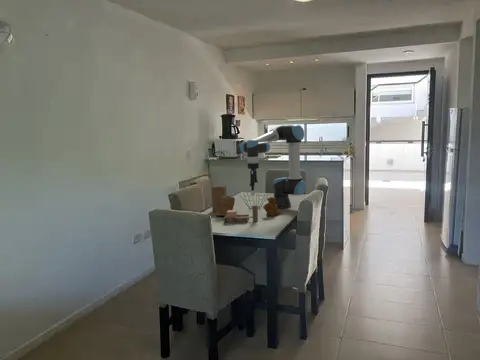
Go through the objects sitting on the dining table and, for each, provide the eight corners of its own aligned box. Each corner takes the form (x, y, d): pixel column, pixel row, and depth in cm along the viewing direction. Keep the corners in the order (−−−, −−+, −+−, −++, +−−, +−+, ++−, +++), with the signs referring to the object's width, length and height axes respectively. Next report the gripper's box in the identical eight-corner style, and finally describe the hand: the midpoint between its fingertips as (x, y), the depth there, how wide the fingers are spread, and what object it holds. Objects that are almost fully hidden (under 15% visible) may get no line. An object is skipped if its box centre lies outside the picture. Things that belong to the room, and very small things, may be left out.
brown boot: (237, 213, 302) (236, 194, 300) (233, 217, 291) (232, 197, 289) (218, 213, 306) (217, 194, 304) (213, 217, 295) (212, 197, 293)
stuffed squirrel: (281, 213, 297) (281, 196, 295) (274, 217, 284) (273, 199, 283) (269, 212, 301) (268, 195, 299) (261, 217, 289) (261, 199, 287)
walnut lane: (249, 219, 283) (248, 214, 283) (247, 222, 273) (246, 218, 273) (226, 219, 286) (226, 214, 285) (224, 223, 276) (223, 218, 275)
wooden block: (224, 212, 311) (223, 186, 308) (212, 212, 313) (210, 186, 310) (227, 209, 320) (226, 184, 318) (215, 209, 322) (214, 184, 320)
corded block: (258, 219, 280) (257, 204, 279) (257, 221, 274) (256, 205, 273) (228, 219, 283) (227, 204, 282) (227, 221, 277) (226, 206, 276)
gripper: (249, 161, 285) (251, 190, 287) (245, 164, 260) (246, 196, 263) (260, 160, 283) (261, 190, 286) (256, 164, 259) (257, 196, 262)
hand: (254, 193), depth 275 cm, fingers open, 13 cm apart
